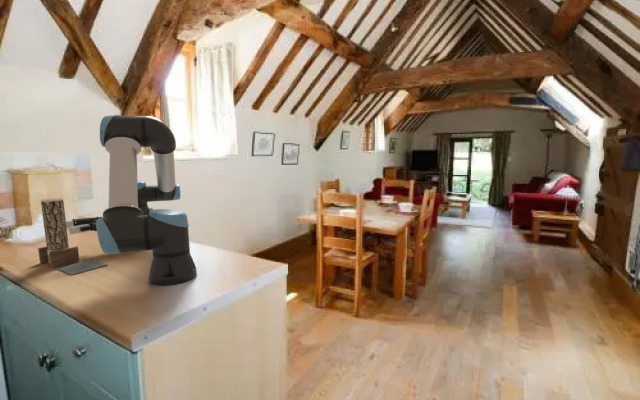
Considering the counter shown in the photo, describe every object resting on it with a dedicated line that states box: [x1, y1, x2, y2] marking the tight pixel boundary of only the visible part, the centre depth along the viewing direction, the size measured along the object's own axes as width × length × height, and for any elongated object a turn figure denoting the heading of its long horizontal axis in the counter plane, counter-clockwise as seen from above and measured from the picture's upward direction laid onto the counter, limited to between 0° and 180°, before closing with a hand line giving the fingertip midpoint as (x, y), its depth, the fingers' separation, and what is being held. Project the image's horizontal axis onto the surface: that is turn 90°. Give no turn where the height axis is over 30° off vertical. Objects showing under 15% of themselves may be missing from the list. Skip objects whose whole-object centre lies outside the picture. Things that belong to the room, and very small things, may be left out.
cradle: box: [37, 245, 81, 269], centre depth 136 cm, size 11×9×6 cm
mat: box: [56, 259, 108, 276], centre depth 131 cm, size 12×12×1 cm
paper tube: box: [40, 197, 70, 265], centre depth 135 cm, size 7×7×25 cm
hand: (61, 228), depth 137 cm, fingers open, 13 cm apart
